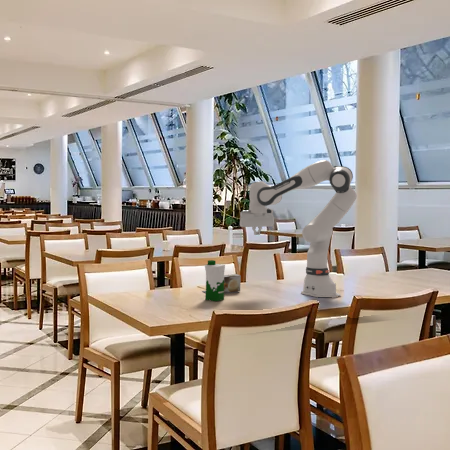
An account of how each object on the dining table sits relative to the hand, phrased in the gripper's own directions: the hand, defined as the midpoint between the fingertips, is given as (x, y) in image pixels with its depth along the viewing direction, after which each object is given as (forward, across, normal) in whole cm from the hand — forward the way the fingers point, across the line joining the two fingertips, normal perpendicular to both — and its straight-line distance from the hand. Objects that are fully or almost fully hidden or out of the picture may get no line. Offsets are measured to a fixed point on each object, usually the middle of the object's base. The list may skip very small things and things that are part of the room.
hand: (256, 234), depth 328 cm
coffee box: (+26, -12, -1) cm, 29 cm away
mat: (+31, -22, 0) cm, 38 cm away
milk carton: (+31, -33, -19) cm, 50 cm away
